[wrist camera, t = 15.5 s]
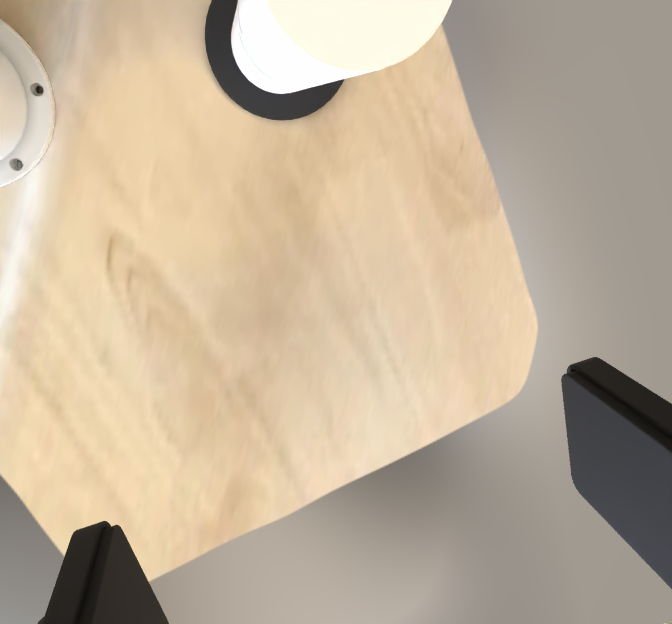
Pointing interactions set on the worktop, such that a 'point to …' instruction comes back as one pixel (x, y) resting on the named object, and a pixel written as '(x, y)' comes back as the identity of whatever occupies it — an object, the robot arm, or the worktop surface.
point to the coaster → (241, 87)
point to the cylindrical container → (327, 38)
